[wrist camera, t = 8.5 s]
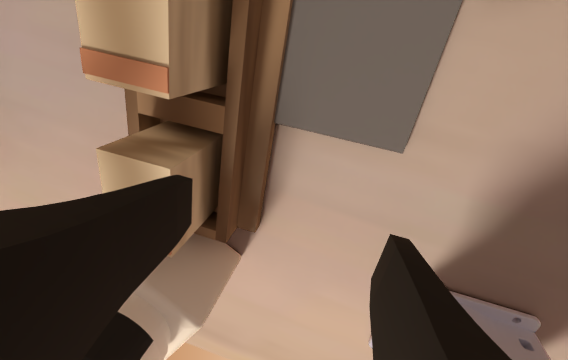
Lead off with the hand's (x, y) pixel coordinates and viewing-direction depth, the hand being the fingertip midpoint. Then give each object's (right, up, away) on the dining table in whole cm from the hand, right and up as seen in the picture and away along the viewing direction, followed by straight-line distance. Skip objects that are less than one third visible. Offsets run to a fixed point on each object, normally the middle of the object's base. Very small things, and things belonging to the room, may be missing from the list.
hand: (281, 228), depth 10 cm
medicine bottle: (-8, -5, +15) cm, 18 cm away
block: (-6, +3, +10) cm, 12 cm away
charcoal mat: (+4, +8, +6) cm, 11 cm away
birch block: (-5, +10, +6) cm, 13 cm away
